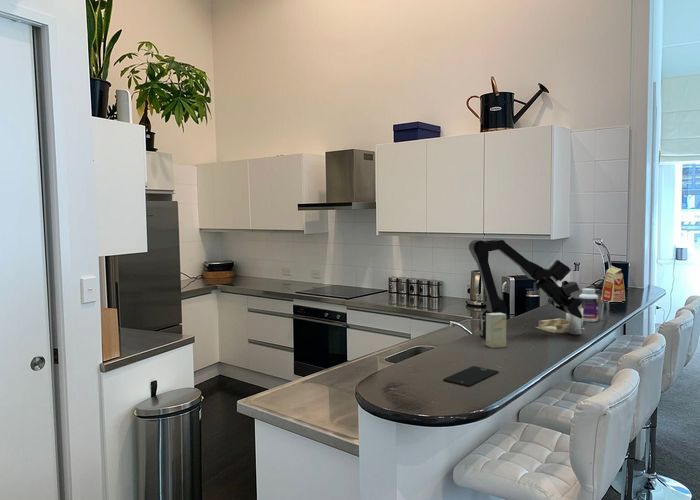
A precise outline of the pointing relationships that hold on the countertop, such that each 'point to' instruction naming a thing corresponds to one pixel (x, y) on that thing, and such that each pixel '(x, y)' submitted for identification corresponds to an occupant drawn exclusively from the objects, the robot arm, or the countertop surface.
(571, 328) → the cell
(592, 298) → the pill bottle
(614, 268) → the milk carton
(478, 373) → the cell phone
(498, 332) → the skincare box
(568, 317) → the white rounded cylinder
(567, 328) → the cradle
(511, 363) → the countertop surface
